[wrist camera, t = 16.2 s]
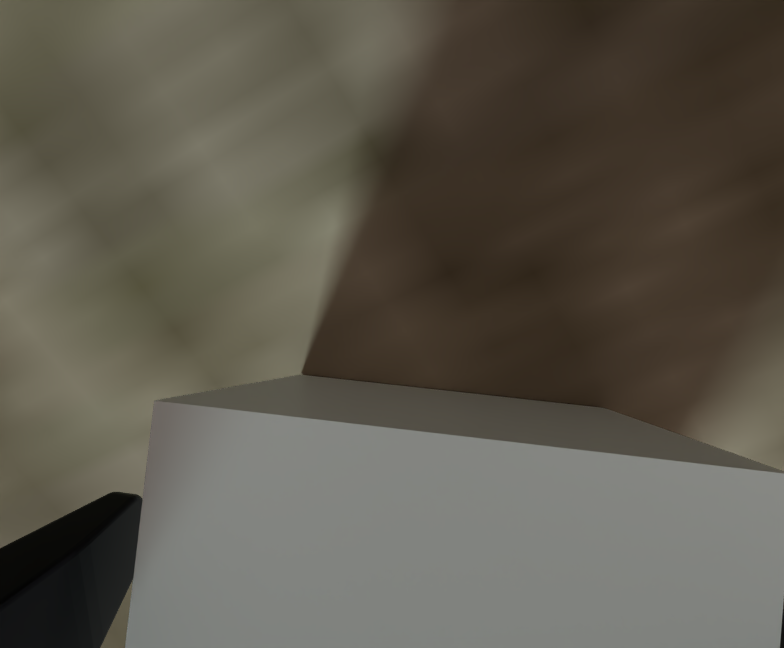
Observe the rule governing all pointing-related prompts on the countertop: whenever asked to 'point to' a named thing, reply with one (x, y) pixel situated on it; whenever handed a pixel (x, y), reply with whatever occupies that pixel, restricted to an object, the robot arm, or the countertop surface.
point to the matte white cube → (445, 525)
